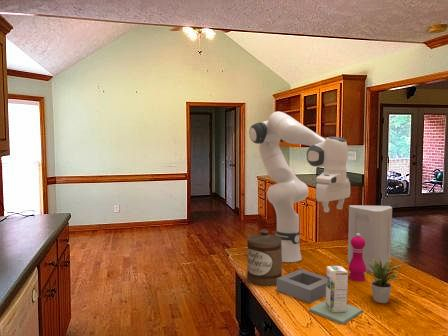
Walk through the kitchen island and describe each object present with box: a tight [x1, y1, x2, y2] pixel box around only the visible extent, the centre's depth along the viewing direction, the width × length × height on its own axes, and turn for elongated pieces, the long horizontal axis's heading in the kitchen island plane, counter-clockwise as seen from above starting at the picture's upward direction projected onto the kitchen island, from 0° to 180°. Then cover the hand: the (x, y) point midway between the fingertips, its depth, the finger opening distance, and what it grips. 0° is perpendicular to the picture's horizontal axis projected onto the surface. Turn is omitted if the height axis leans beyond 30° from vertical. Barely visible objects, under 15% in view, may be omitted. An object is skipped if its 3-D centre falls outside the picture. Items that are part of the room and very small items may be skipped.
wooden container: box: [246, 228, 283, 287], centre depth 161 cm, size 15×15×22 cm
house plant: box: [364, 257, 402, 304], centre depth 139 cm, size 14×14×16 cm
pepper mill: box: [348, 233, 367, 282], centre depth 162 cm, size 7×7×20 cm
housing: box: [276, 268, 327, 304], centre depth 149 cm, size 16×16×5 cm
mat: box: [308, 299, 364, 326], centre depth 131 cm, size 13×13×1 cm
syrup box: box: [325, 265, 349, 312], centre depth 131 cm, size 6×6×14 cm
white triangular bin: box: [347, 204, 393, 273], centre depth 177 cm, size 19×15×28 cm
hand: (333, 210), depth 153 cm, fingers open, 8 cm apart
